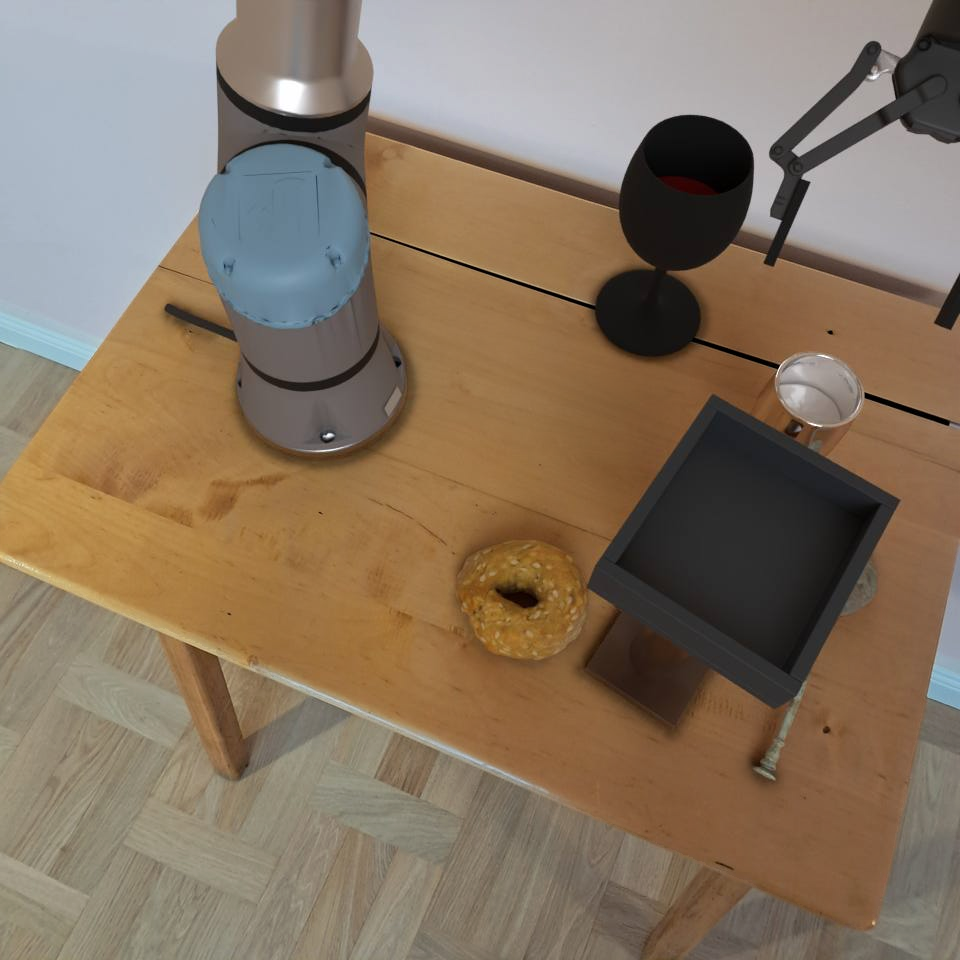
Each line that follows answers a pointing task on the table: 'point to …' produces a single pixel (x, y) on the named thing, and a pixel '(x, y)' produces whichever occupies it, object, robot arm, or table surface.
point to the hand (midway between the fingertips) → (853, 295)
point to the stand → (647, 670)
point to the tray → (745, 550)
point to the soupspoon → (857, 600)
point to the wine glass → (674, 228)
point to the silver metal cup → (811, 400)
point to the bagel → (533, 573)
